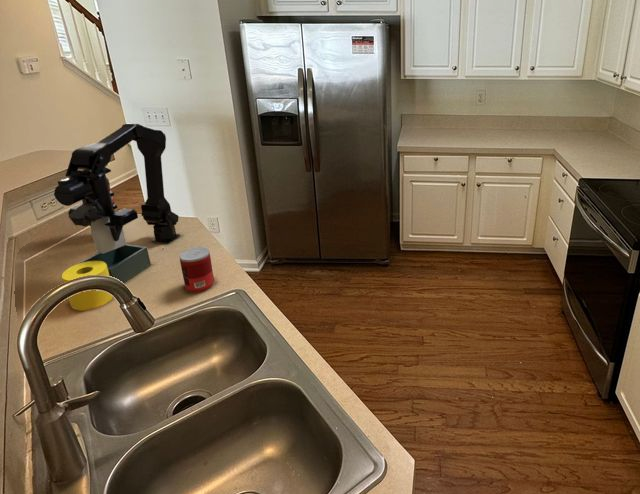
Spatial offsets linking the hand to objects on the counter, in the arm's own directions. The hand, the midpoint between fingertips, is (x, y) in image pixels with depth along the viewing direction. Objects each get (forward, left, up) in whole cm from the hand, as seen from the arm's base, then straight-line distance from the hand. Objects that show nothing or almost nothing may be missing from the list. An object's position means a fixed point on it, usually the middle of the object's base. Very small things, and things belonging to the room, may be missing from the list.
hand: (109, 239), depth 129 cm
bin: (0, 0, -12) cm, 12 cm away
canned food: (-1, +28, -12) cm, 30 cm away
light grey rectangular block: (0, 0, -3) cm, 3 cm away
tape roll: (+13, +4, -12) cm, 18 cm away
